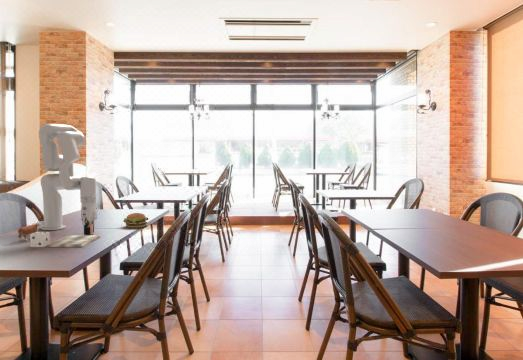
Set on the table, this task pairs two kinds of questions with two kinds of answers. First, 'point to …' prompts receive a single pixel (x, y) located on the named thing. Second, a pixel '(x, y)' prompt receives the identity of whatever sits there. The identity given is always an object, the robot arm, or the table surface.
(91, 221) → the peach rounded cylinder
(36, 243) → the die
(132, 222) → the food
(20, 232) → the bull figurine
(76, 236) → the game board
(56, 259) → the table surface
